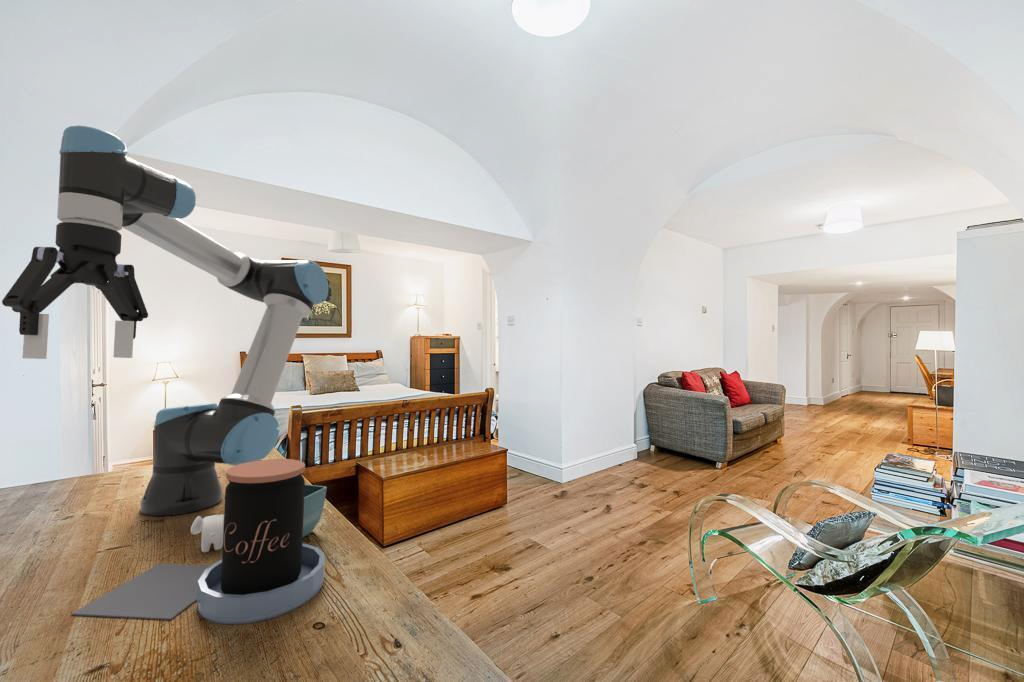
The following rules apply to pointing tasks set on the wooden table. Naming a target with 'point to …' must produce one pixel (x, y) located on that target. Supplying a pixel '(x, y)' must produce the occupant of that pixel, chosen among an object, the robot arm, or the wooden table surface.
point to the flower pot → (313, 506)
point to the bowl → (263, 603)
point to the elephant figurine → (209, 531)
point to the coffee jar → (262, 526)
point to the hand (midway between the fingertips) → (83, 358)
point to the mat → (150, 594)
